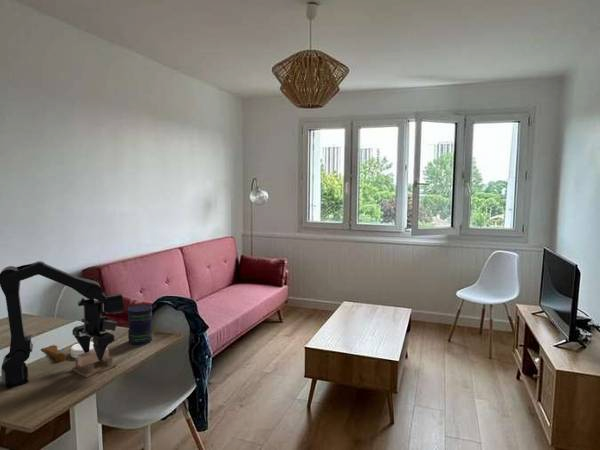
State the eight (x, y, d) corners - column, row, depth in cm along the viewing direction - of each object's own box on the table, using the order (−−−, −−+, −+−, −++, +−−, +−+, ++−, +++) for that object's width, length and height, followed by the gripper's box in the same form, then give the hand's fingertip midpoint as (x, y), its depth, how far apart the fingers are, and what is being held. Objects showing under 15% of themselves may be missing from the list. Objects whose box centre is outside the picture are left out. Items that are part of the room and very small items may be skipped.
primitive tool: (40, 350, 167) (40, 341, 167) (55, 346, 171) (55, 338, 171) (55, 364, 154) (55, 355, 154) (71, 360, 158) (71, 351, 158)
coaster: (79, 361, 157) (79, 352, 156) (65, 355, 162) (65, 346, 162) (104, 352, 165) (103, 344, 165) (90, 347, 170) (90, 339, 170)
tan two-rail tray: (86, 377, 143) (85, 367, 143) (71, 369, 149) (71, 359, 148) (115, 366, 152) (115, 356, 152) (101, 359, 158) (100, 350, 157)
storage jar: (123, 343, 174) (122, 309, 173) (139, 336, 183) (138, 303, 182) (142, 347, 171) (141, 312, 170) (157, 339, 180) (157, 306, 179)
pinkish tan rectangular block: (82, 366, 145) (81, 357, 145) (77, 364, 147) (77, 355, 146) (108, 357, 153) (108, 348, 153) (104, 355, 155) (104, 346, 155)
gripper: (127, 315, 150) (128, 356, 151) (100, 306, 160) (101, 344, 162) (98, 323, 141) (99, 366, 142) (71, 312, 151) (72, 353, 153)
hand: (93, 357), depth 150 cm, fingers open, 9 cm apart
